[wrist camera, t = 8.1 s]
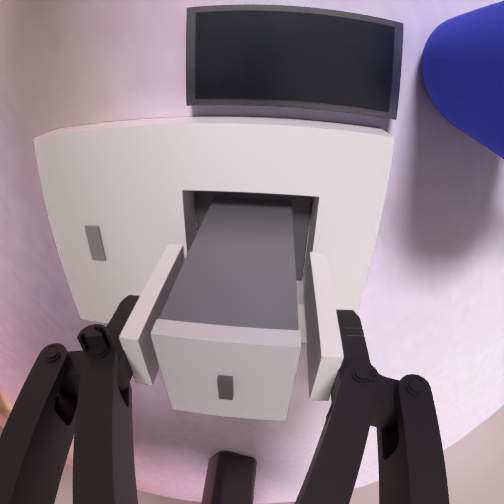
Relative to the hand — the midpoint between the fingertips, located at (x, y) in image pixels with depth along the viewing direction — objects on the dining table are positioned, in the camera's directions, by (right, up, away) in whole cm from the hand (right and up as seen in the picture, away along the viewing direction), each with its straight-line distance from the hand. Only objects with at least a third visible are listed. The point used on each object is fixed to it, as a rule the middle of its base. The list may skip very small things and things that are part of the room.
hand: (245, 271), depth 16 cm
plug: (0, +2, +4) cm, 4 cm away
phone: (+3, +11, -2) cm, 12 cm away
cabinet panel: (-3, +2, +4) cm, 5 cm away
